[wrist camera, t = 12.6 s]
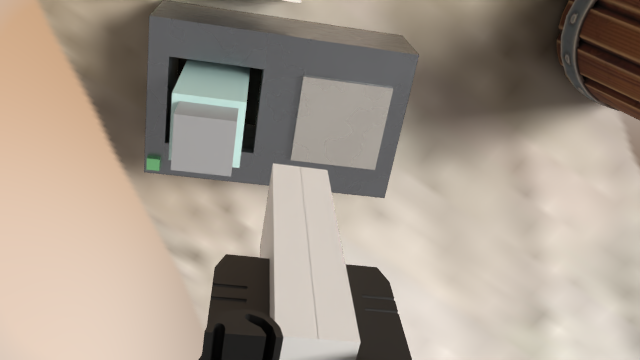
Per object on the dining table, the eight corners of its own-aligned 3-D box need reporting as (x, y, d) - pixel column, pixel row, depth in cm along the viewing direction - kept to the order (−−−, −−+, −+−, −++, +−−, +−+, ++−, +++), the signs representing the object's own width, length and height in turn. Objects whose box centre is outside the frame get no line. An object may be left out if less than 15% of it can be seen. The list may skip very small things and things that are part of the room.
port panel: (163, -1, 38) (148, 17, 33) (402, 35, 40) (420, 56, 35) (157, 141, 42) (142, 174, 37) (372, 166, 44) (385, 200, 40)
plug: (191, 50, 39) (166, 105, 29) (251, 58, 40) (245, 115, 30) (187, 105, 41) (162, 175, 31) (244, 113, 42) (237, 183, 32)
